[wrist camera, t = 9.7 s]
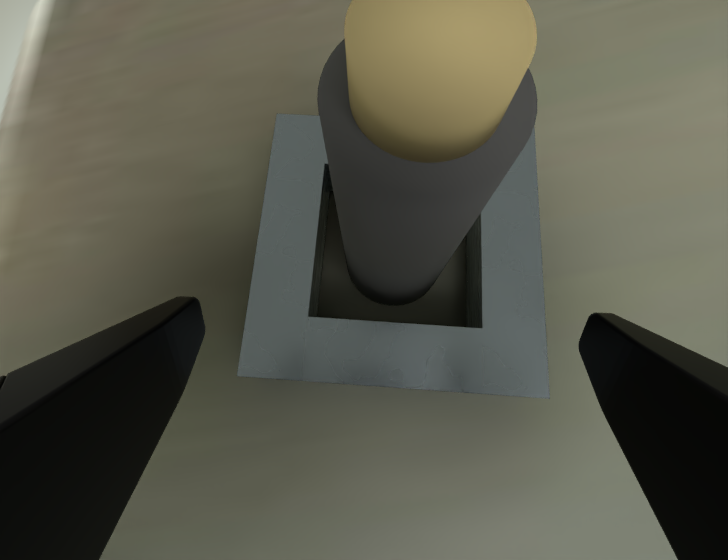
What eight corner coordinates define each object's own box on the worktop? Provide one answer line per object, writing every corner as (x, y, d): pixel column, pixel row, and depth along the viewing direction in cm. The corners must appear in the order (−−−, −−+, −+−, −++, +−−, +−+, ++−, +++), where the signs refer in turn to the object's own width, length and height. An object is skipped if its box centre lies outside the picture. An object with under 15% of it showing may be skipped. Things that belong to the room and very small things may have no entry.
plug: (438, 308, 18) (587, 152, 6) (343, 302, 18) (290, 136, 6) (439, 220, 19) (567, -65, 7) (350, 215, 19) (319, -74, 7)
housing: (523, 396, 17) (549, 398, 14) (255, 376, 17) (236, 375, 15) (513, 158, 20) (534, 127, 17) (287, 145, 20) (276, 113, 18)
